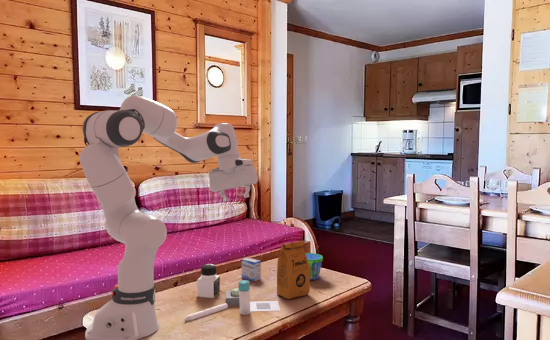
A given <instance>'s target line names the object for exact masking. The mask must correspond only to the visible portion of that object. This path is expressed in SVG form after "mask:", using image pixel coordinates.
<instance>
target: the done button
mask: <svg viewBox="0 0 550 340" xmlns="http://www.w3.org/2000/svg"><path fill="white" fill-rule="evenodd" d="M231 290H232V296H239V287H237V288H236V287H235V288H232V289H231Z"/></svg>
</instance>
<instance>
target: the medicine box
mask: <svg viewBox="0 0 550 340" xmlns="http://www.w3.org/2000/svg"><path fill="white" fill-rule="evenodd" d="M241 279H243V280H247V281H251V282H252V281H253V282H257V281H259V280H261V279H262V260H259V259H255V258H250V257H244V258H243V259H241Z"/></svg>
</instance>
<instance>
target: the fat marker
mask: <svg viewBox="0 0 550 340" xmlns="http://www.w3.org/2000/svg"><path fill="white" fill-rule="evenodd" d="M237 284H238V288H239V304H240V305H239V315H241V316H249V315H250V314H251V312H250V302H251V293H250V292H251V291H250V290H251V286H250V285H251V283H250V280H247V279H243V280H240V281H238V283H237Z"/></svg>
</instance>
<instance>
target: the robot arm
mask: <svg viewBox="0 0 550 340" xmlns="http://www.w3.org/2000/svg"><path fill="white" fill-rule="evenodd" d="M177 129H178V118H177V115H176V112H175V111H174V110H172V108H169V107H168V106H167V105H164V104H162V103H160V102H158V101H155V100H152V99H150V98H148V97H147V98H146V97H143V96H141V95H135V94H134V95H130V96H127V97H126V98H125V99H124V100H123V101H122V103H121V105H120V108H119V110H118V109H117V110H116V109H115V110H113V109H112V110H111V109H108V110H103V111H102V110H101V111H95V112H94V113H91V114H89V115H88V116H87V117H86V118H85V119H84V121H83V124H82V134H83V143H84V145H85V146H84V147H83V149H82V150H81V151H80V153H79V158H78V159H79V162H80V167H81V169H82V172H83V175H84V176H85V179H86V180H87V182H88V184H89V186H90V188H91V190H92V191H93V193H94V195H95V197H96V199H97V201H98V203H99V204H100V206H101V208H102V212H103V215H104V217H105V230H106V232H107V234H108V235H109V236H110V237H111V238H113V239H114V240H115V241H117V242H120V243H122V244H124V245H125V249H124V250H125V251H124V254H123V257H122V259H121V260H120V261H119V263H118V265H117V284H115V285H114V286H113V288H112V290H111V293H110V298H111V300H109V301H107V302H106V303H105V304H104V305H102V306H101V307H100V308H99V309H98V310H97V311H96V313H95V314H94V318H93V322H92V323H90V324H89V325H88V327H87V328H86V330H85V333H84V334H85V335H84V339H85V340H140V339H142V338H145V337H148V336H150V335H152V334H154V333H156V332H157V331H158V329H159V328H160V325H159V322H158V318H157V313H156V306H155V305H156V303H155V302H156V285H155V284H154V279H155V278H154V271H155V270H154V269H155V268H154V267H155V266H154V265H155V258H156V255H157V253H158V250H159V247H161V246H162V245H163V244H164V243H165V240H166V238H167V235H168V230H167V226H166V224H165V223H164V222H163V221H162V220H161V219H159V218H158V217H156V216H155V215H153V214H149V213H145V212H143V211H141V210H140V209H139V208H138V205H137V204H136V199H135V197H136V193H137V191H136V188H135V186H134V184H133V181H132V180H131V179H130V177H129V174H128V173H127V172H128V171H126V168H125V167H124V165H123V163H122V161H121V157H120V155H119V149H120V147H121V148H126V147H129V146H133V145H134V144H136V143H137V142H138V141H140V139H141V137H142V136H143V134H146V135H148V136H149V137H150V136H151V137H152V138H153V139H154V140H155V141H156V142H158V143H160V144H161V145H162V146H165V147H166V148H168V149H170V150H172V151H174V152H176V153H178V154H179V155H181V156H182V158H184V159H185V160H186V161H187V162H189V163H191V164H197V163H200V162H202V161H204V160H208V159H211V158H214V157H217V164H218V167H215V168H211V169H210V171H209V172H208V178H209V189H210V191H211V192H212V193H217V192H218V193H219V195H220V197H221V198H222V201H223V202H224V203H226V202H229V196H227V195H226V194H225V193H226V191H227V190H231V189H235V188H240V187H244V189H245V190H244V191H245V192H244V193H242V194H243V198H244V199H245V198H250V192H251V191H250V190H251V185H255V184H257V183H258V181H259V177H258V174H257V170H256V168H255V166H254V165H253V164H254V162H253V159H250V158H249V159H248V158H242V157H241V154H240V152H239V149H238V148H239V147H238V146H239V143H238V137H237V134H236V131H235V128H234V126H233V125H232V124H231V123H226V122H219V123H216V124H214V125H213V128H211V129H210V130H208V131H206V132H202V133H201V134H198V135H195V136H192V137H191V136H190V137H185V136H182V134H179V133H177V132H176V131H177Z"/></svg>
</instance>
